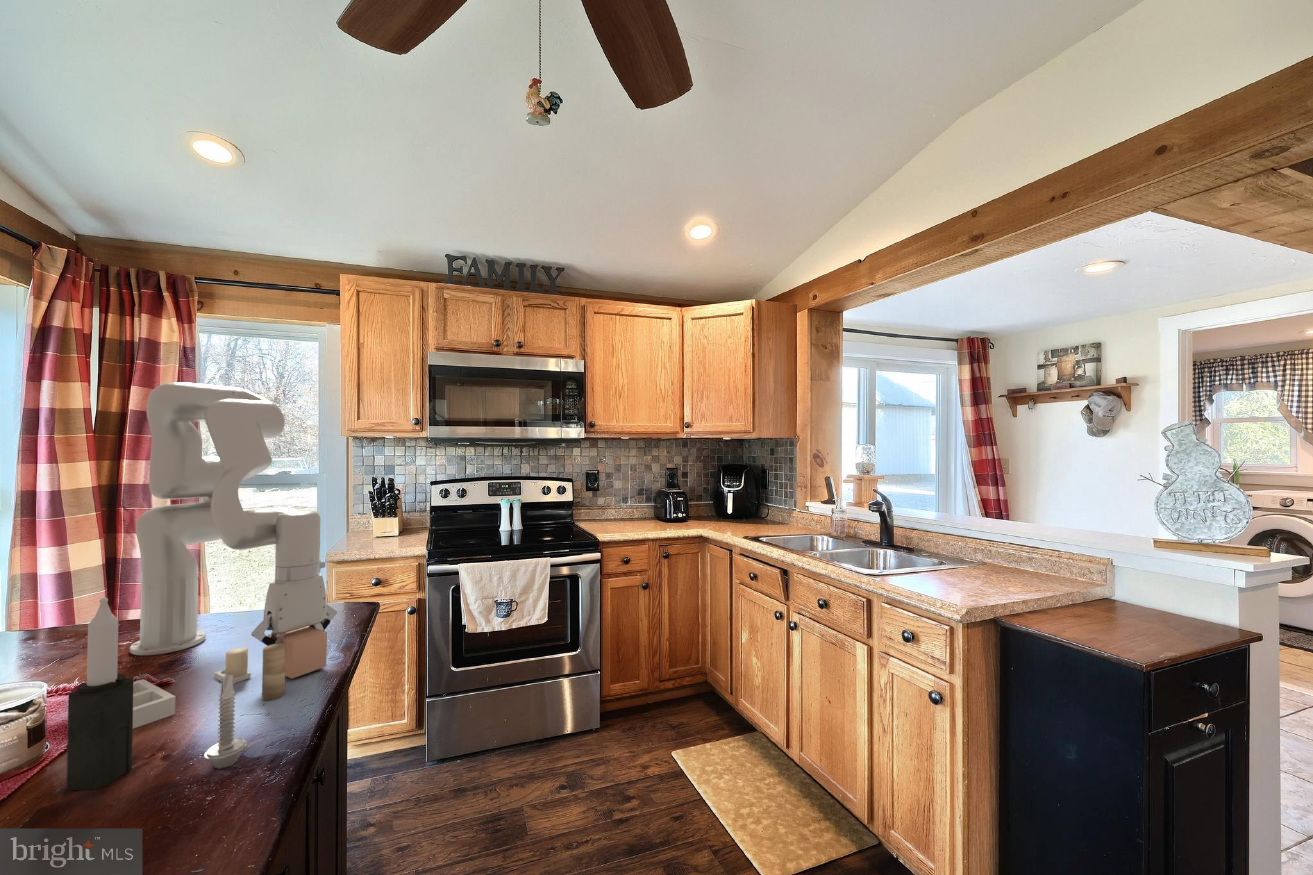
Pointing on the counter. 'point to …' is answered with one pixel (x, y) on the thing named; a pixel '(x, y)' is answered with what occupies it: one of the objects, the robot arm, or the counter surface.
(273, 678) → the pin
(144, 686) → the socket board
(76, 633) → the counter surface
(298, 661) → the block
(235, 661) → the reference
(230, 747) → the screw
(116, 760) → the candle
